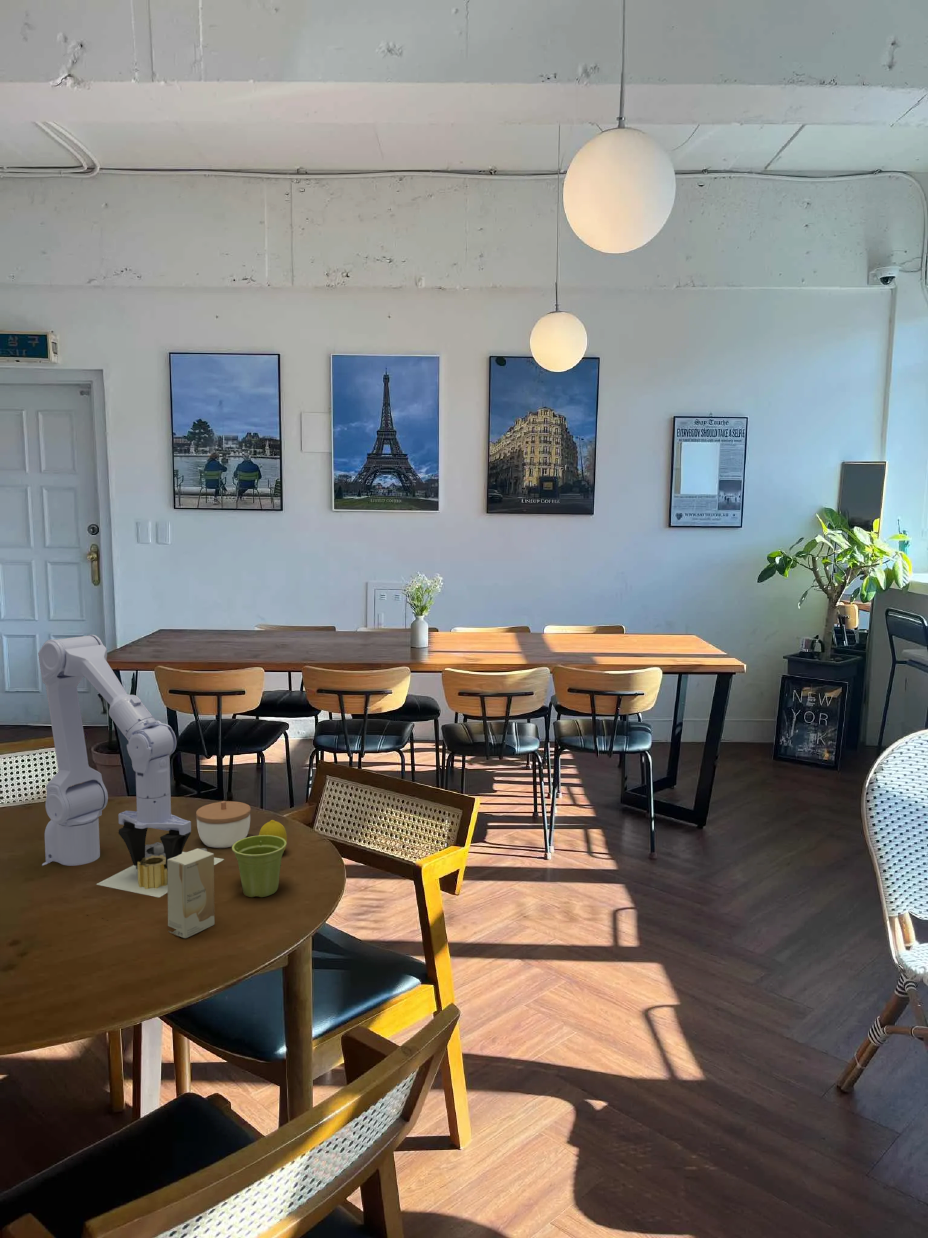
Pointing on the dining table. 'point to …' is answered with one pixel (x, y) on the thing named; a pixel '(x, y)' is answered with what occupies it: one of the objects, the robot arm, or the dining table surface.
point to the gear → (151, 851)
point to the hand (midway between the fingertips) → (155, 867)
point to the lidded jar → (223, 823)
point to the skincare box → (191, 892)
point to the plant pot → (259, 863)
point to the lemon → (274, 830)
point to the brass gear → (152, 872)
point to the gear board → (130, 879)
